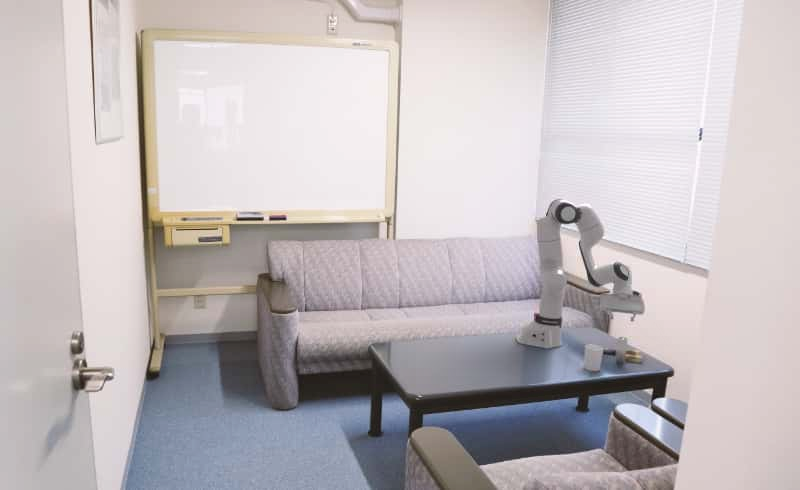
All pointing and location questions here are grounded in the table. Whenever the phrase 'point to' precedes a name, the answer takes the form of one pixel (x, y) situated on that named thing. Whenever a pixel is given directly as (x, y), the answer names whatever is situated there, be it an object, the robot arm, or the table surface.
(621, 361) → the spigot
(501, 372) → the table surface
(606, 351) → the pin
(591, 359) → the white cup
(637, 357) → the socket block
